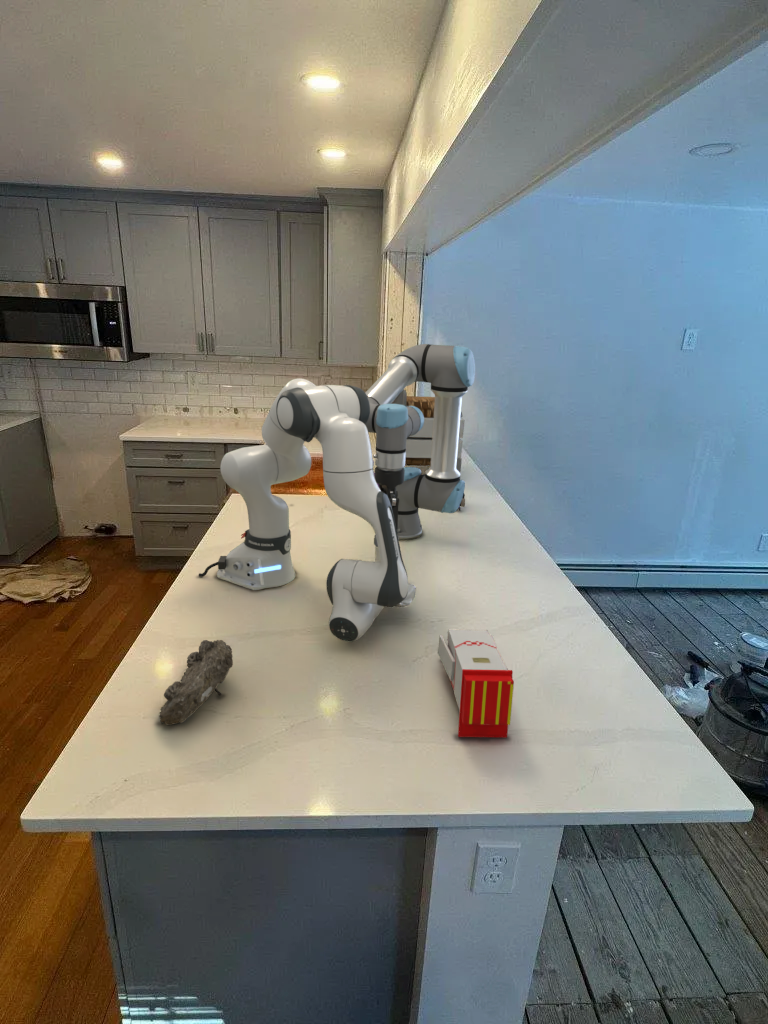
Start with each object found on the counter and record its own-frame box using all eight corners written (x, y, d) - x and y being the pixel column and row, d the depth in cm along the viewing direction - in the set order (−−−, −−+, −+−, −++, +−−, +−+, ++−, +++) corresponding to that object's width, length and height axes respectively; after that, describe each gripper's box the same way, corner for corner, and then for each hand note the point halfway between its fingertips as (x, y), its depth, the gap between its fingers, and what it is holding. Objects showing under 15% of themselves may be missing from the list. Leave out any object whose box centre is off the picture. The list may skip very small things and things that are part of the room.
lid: (382, 537, 153) (383, 529, 152) (403, 543, 150) (403, 535, 149) (368, 544, 148) (369, 536, 147) (389, 551, 145) (390, 543, 144)
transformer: (382, 463, 289) (386, 382, 275) (445, 464, 293) (451, 384, 279) (390, 482, 257) (394, 392, 243) (460, 483, 261) (468, 394, 247)
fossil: (185, 642, 124) (233, 610, 119) (215, 671, 126) (264, 641, 122) (136, 718, 104) (191, 685, 99) (173, 751, 107) (229, 720, 102)
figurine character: (465, 515, 224) (460, 499, 237) (467, 498, 221) (462, 483, 234) (448, 515, 224) (444, 499, 237) (450, 498, 220) (445, 482, 234)
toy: (488, 613, 130) (523, 677, 101) (484, 667, 133) (517, 744, 104) (435, 612, 130) (455, 676, 101) (432, 666, 133) (451, 743, 103)
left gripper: (408, 595, 136) (423, 572, 149) (330, 580, 142) (351, 559, 155) (407, 618, 139) (421, 593, 151) (330, 602, 145) (350, 579, 157)
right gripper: (368, 457, 150) (365, 538, 158) (382, 478, 132) (378, 568, 140) (396, 457, 151) (392, 537, 159) (413, 478, 134) (408, 566, 141)
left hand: (385, 576), depth 153 cm, fingers closed on jar, 5 cm apart
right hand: (385, 551), depth 150 cm, fingers closed on lid, 6 cm apart
